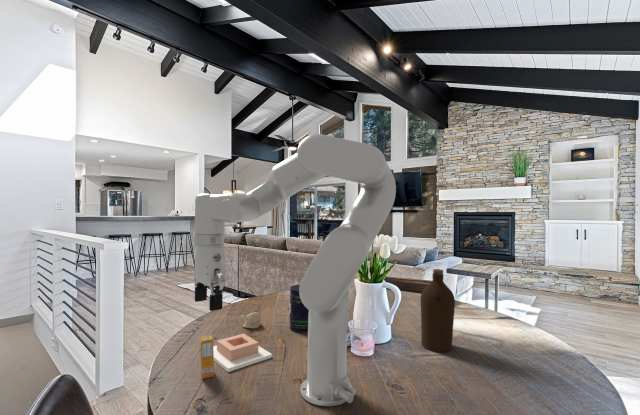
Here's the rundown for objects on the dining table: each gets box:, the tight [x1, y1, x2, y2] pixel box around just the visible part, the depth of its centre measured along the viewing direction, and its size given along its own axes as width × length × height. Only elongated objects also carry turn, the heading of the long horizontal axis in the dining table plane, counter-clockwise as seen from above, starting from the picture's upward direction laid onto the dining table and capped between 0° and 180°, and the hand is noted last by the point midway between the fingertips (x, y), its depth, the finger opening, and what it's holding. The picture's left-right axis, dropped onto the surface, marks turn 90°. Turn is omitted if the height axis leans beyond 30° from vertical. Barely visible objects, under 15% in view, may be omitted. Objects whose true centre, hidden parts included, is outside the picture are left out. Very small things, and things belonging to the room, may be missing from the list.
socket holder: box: [213, 333, 273, 373], centre depth 102 cm, size 16×14×4 cm
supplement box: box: [200, 334, 215, 380], centre depth 90 cm, size 3×3×10 cm
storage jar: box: [289, 284, 309, 334], centre depth 125 cm, size 10×10×15 cm
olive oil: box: [420, 268, 456, 353], centre depth 111 cm, size 11×11×25 cm
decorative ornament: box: [241, 311, 262, 329], centre depth 125 cm, size 4×8×5 cm, turn 129°
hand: (208, 305), depth 90 cm, fingers open, 9 cm apart
